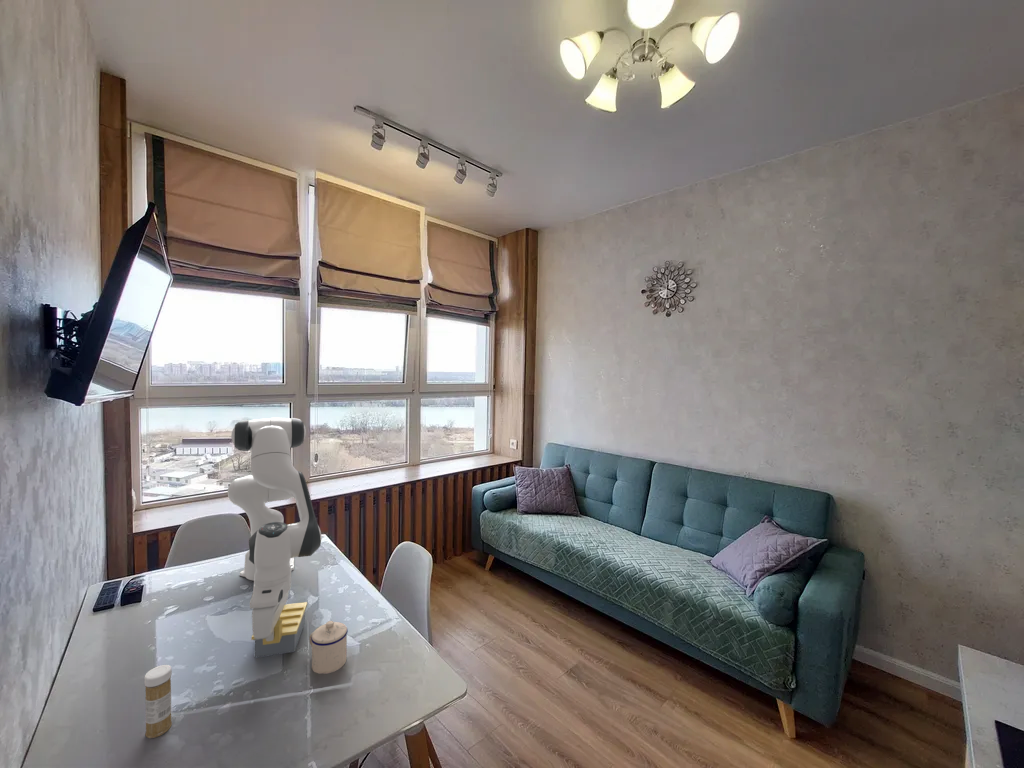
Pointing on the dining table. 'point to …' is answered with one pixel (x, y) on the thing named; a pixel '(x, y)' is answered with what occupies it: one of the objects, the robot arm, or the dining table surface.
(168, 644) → the dining table surface
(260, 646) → the tub
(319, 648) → the teacup with lid
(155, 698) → the sprinkles bottle
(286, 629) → the yellow flat ridged piece
